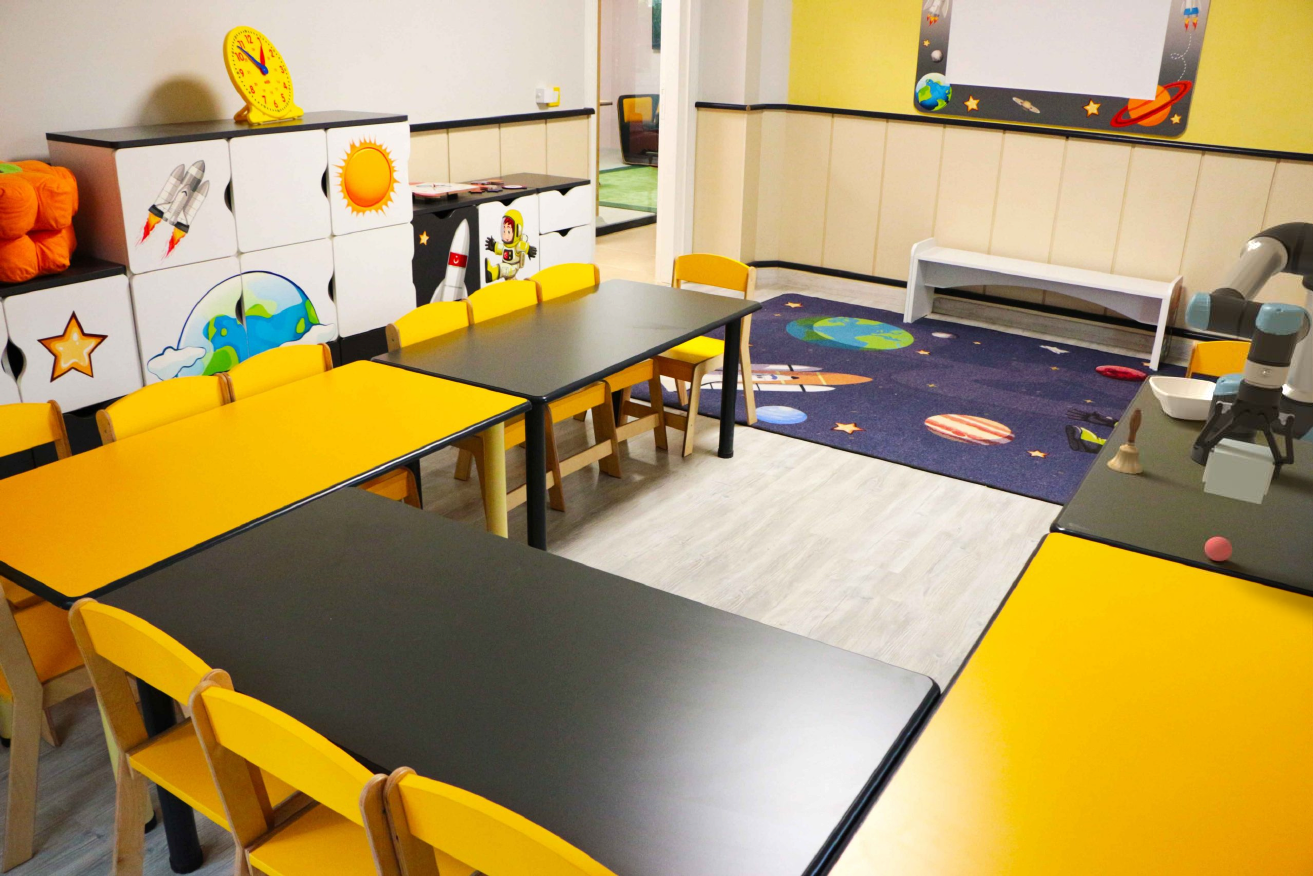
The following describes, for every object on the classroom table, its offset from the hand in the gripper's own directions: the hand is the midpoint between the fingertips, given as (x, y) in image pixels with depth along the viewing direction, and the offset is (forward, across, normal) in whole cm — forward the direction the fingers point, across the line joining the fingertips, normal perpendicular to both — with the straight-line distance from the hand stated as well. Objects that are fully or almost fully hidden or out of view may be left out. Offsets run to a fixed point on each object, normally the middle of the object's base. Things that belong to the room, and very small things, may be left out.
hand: (1234, 486), depth 208 cm
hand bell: (+15, -23, +40) cm, 49 cm away
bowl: (+15, -14, +95) cm, 97 cm away
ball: (+13, 0, -3) cm, 13 cm away
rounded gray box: (+1, 0, 0) cm, 1 cm away
